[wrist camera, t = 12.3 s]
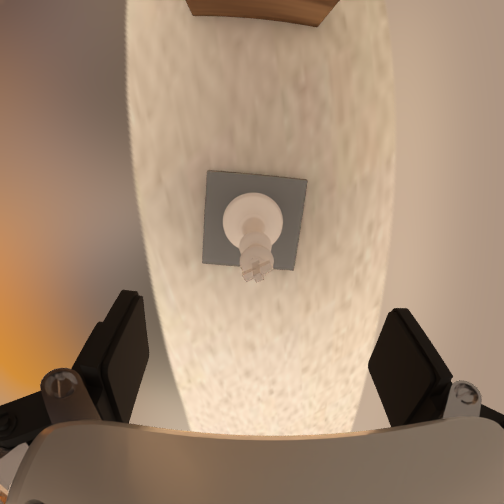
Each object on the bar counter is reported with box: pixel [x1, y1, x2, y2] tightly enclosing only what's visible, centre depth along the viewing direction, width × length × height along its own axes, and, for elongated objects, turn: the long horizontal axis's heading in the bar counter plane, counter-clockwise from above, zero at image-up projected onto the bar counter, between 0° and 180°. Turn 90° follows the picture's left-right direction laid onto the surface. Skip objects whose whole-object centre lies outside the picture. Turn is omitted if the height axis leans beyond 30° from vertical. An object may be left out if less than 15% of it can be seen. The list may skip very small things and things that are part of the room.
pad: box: [202, 170, 307, 271], centre depth 26 cm, size 8×8×1 cm
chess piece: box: [223, 193, 283, 283], centre depth 21 cm, size 5×5×10 cm
